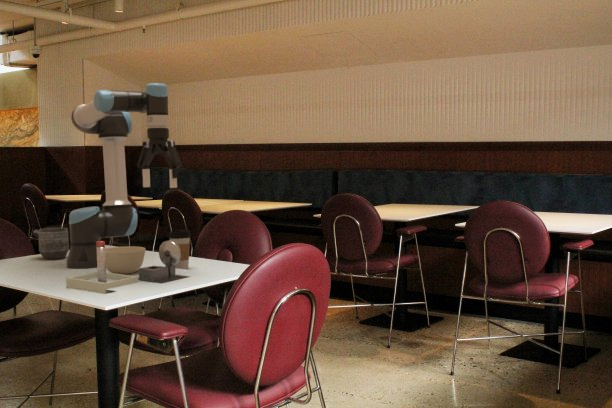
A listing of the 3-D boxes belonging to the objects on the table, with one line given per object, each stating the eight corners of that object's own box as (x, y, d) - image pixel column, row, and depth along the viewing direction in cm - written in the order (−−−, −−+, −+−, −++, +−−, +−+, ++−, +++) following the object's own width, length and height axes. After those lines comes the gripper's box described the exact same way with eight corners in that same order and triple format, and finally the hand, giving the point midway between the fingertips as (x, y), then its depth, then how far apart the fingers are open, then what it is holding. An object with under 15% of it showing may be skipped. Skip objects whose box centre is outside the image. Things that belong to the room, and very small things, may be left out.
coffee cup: (186, 271, 260) (185, 231, 258) (166, 270, 261) (164, 231, 260) (194, 267, 268) (193, 229, 267) (174, 266, 269) (173, 229, 268)
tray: (66, 287, 231) (66, 277, 231) (100, 280, 243) (99, 271, 242) (105, 293, 220) (105, 283, 220) (138, 286, 231) (138, 276, 231)
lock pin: (96, 284, 231) (94, 241, 230) (103, 283, 233) (101, 240, 232) (101, 285, 229) (99, 242, 228) (108, 284, 232) (106, 241, 231)
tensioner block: (129, 283, 237) (127, 243, 236) (159, 276, 249) (157, 238, 247) (161, 287, 228) (160, 246, 227) (191, 280, 240) (189, 241, 238)
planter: (33, 259, 293) (31, 230, 292) (53, 255, 304) (52, 227, 303) (55, 261, 288) (54, 231, 287) (75, 256, 299) (74, 228, 298)
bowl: (142, 279, 243) (141, 252, 242) (96, 281, 242) (95, 253, 241) (149, 272, 259) (148, 245, 258) (106, 273, 258) (105, 246, 257)
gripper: (125, 128, 246) (128, 187, 247) (175, 126, 232) (177, 188, 233) (141, 128, 252) (143, 186, 254) (191, 126, 238) (192, 187, 239)
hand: (159, 187), depth 243 cm, fingers open, 13 cm apart
